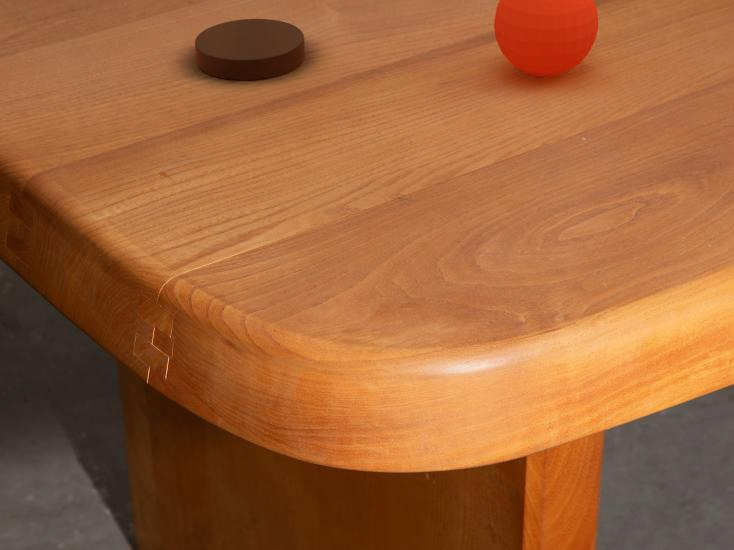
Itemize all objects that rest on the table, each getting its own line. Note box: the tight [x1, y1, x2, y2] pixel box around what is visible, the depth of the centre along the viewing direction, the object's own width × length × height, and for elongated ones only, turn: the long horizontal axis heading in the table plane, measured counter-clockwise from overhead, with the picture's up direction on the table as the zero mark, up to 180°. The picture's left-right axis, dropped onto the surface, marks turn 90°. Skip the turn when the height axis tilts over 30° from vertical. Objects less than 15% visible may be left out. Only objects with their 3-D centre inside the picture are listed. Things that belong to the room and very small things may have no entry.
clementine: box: [493, 0, 599, 77], centre depth 97 cm, size 8×7×7 cm
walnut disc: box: [194, 18, 306, 81], centre depth 101 cm, size 8×8×2 cm
